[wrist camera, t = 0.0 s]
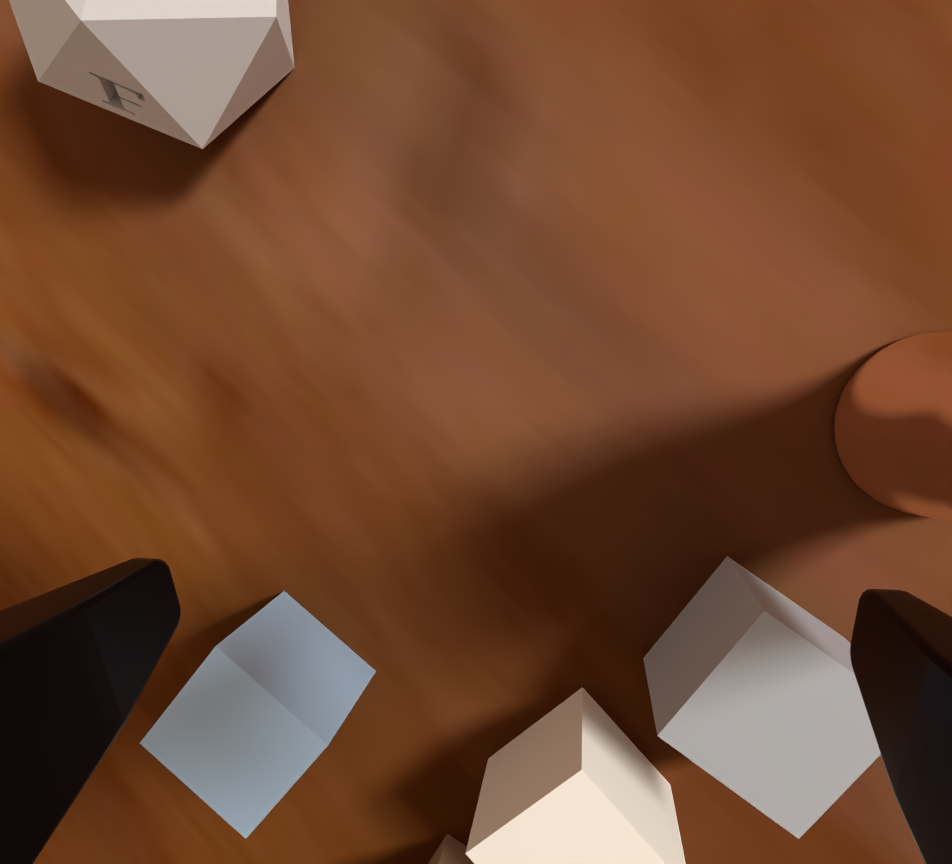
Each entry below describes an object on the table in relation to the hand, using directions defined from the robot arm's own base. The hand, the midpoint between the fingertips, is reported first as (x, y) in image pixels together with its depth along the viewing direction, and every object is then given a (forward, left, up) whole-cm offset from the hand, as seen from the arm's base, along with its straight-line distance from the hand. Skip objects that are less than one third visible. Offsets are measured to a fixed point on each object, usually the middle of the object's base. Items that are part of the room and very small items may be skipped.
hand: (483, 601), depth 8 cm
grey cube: (-1, -10, -16) cm, 19 cm away
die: (+4, +19, -16) cm, 25 cm away
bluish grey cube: (-14, +2, -16) cm, 21 cm away
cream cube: (-9, -9, -16) cm, 20 cm away
